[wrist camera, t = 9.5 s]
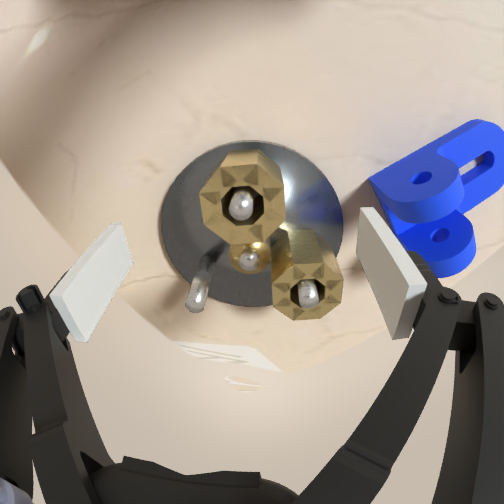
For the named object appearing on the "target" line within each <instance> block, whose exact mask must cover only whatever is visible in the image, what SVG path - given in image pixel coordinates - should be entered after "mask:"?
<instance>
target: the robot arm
mask: <svg viewBox="0 0 504 504" xmlns="http://www.w3.org/2000/svg"><path fill="white" fill-rule="evenodd" d="M356 254H357V256H358V258H359V260H360V263H361V265H362V267H363V269H364V272H365V274H366V276H367V278H368V281H369V283H370V285H371V288H372V290H373V292H374V295H375V297H376V300H377V302H378V304H379V307H380V309H381V312H382V314H383V317H384V319H385V322H386V324H387V327H388V330H389V332H390V335H391V337H392V340H396V339H402V338H409V336H410V333H411V331H412V328H414V332H413V334H412V337H411V338H410V340H409V342H408V344H407V346H406V348H405V350H404V352H403V354H402V356H401V358H400V359H399V361H398V363H397V365H396V367H395V368H394V370H393V372H392V374H391V375H390V377H389V379H388V381H387V382H386V384H385V386H384V387H383V389H382V390H381V392H380V394H379V395H378V397H377V398H376V400H375V401H374V403H373V405H372V406H371V408H370V409H369V411H368V412H367V414H366V415H365V417H364V418H363V420H362V421H361V422H360V424H359V425H358V427H357V428H356V430H355V431H354V432H353V434H352V435H351V436H350V438H349V439H348V440H347V442H346V443H345V444H344V445H343V446H342V447H341V448H340V449H339V450H338V451H337V452H336V453H335V455H334V456H333V457H332V458H331V460H330V461H329V462H328V463H327V464H326V466H325V467H324V468H323V469H322V470H321V472H320V473H319V474H318V475H317V476H316V477H315V478H314V480H313V481H312V482H311V483H310V484H309V485H308V486H307V488H305V490H304V491H303V492H302V493H301V494H300V495H297V494H296V493H295V492H293V491H292V490H290V489H288V488H287V487H285V486H283V485H281V484H279V483H276V482H273V481H270V480H266V479H262V478H261V475H260V472H236V471H219V472H212V473H204V474H196V475H183V474H180V473H178V472H175V471H173V470H170V469H168V468H166V467H163V466H161V465H159V464H156V463H154V462H150V461H145V460H140V459H135V458H131V457H127V456H124V457H123V461H122V463H117V464H115V463H114V462H113V460H112V459H111V458H110V456H109V455H108V453H107V451H106V449H105V446H104V444H103V442H102V439H101V437H100V434H99V432H98V430H97V427H96V425H95V422H94V419H93V417H92V414H91V412H90V409H89V406H88V403H87V400H86V397H85V394H84V391H83V389H82V385H81V382H80V379H79V375H78V372H77V369H76V365H75V362H74V358H73V354H72V351H71V346H70V343H69V341H68V339H67V338H66V337H67V335H68V333H69V332H70V334H71V335H72V337H73V338H74V340H75V341H79V342H86V343H87V342H88V340H89V338H90V336H91V335H92V333H93V331H94V329H95V327H96V325H97V324H98V322H99V320H100V318H101V316H102V315H103V313H104V311H105V309H106V308H107V306H108V304H109V303H110V301H111V299H112V297H113V296H114V294H115V293H116V291H117V289H118V288H119V286H120V284H121V283H122V281H123V279H124V278H125V276H126V274H127V273H128V271H129V270H130V268H131V266H132V265H133V263H134V262H133V259H132V256H131V253H130V250H129V246H128V243H127V240H126V237H125V233H124V230H123V226H122V223H121V222H120V223H111V224H110V225H109V226H108V227H107V228H106V229H105V230H104V231H103V232H102V233H101V234H100V235H99V236H98V238H97V239H96V240H95V241H94V242H93V243H92V244H91V245H90V246H89V248H88V249H87V250H86V251H85V252H84V253H83V254H82V256H81V257H80V258H79V259H78V260H77V261H76V263H75V264H74V265H73V266H72V267H71V269H70V270H68V271H67V272H66V273H65V274H64V275H63V276H62V277H61V279H60V280H59V281H58V282H57V284H56V285H55V286H54V288H53V289H52V290H51V291H50V292H49V294H48V295H47V296H46V298H45V299H44V298H43V296H42V294H41V292H40V290H39V288H38V286H37V285H30V286H27V287H25V288H24V289H22V290H21V291H20V292H19V293H18V295H17V296H16V301H17V302H18V304H19V306H20V307H21V309H22V311H23V313H21V314H17V313H16V312H15V310H14V308H13V307H11V306H10V307H6V308H3V309H2V310H1V311H0V504H33V502H32V498H33V464H32V459H33V463H34V467H35V471H36V474H37V477H38V481H39V484H40V487H41V490H42V494H43V497H44V499H45V502H46V504H370V503H371V502H372V501H373V499H374V498H375V496H376V495H377V493H378V492H379V491H380V489H381V488H382V486H383V485H384V483H385V482H386V480H387V478H388V476H389V474H390V472H391V468H392V466H393V464H394V462H395V461H396V459H397V457H398V456H399V454H400V452H401V450H402V449H403V447H404V445H405V443H406V442H407V440H408V438H409V436H410V434H411V433H412V431H413V429H414V427H415V425H416V423H417V421H418V419H419V417H420V415H421V413H422V411H423V409H424V406H425V404H426V402H427V400H428V398H429V395H430V393H431V391H432V388H433V386H434V384H435V381H436V379H437V376H438V374H439V371H440V369H441V366H442V363H443V361H444V358H445V355H446V353H447V350H455V351H456V355H455V356H456V357H455V378H454V392H453V401H452V410H451V418H450V425H449V431H448V437H447V443H446V448H445V453H444V458H443V463H442V467H441V471H440V476H439V479H438V483H437V487H436V490H435V494H434V497H433V501H432V504H504V304H503V302H502V301H501V300H500V298H498V297H497V296H496V295H494V294H491V293H482V294H480V295H479V297H478V298H477V301H476V302H469V301H463V300H461V297H460V296H459V294H458V293H457V292H455V291H454V290H452V289H450V288H447V287H443V286H442V285H441V283H440V282H439V280H438V279H437V277H436V276H435V274H434V273H433V272H432V270H430V267H429V266H428V265H427V263H426V262H425V260H424V259H423V257H422V256H420V255H419V254H418V253H416V252H415V251H405V249H404V248H403V246H402V245H401V244H400V242H399V241H398V239H397V238H396V237H395V235H394V234H393V232H392V231H391V230H390V228H389V227H388V226H387V224H386V223H385V222H384V220H383V219H382V218H381V216H380V215H379V214H378V212H377V211H376V210H375V209H374V207H360V214H359V226H358V237H357V247H356ZM12 348H13V349H14V351H15V355H14V354H13V352H12ZM32 416H33V422H34V427H35V434H33V435H32Z"/></svg>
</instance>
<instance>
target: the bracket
mask: <svg viewBox="0 0 504 504" xmlns="http://www.w3.org/2000/svg"><path fill="white" fill-rule="evenodd" d="M483 153H485V157H484V160H483V162H482V163H481V164H479V165H478V166H476V167H474V168H473V169H471V170H470V171H468V172H466V173H465V174H463V175H462V176H460V173H459V170H458V169H459V168H460V167H462V166H464V165H465V164H467V163H469V162H470V161H472V160H473V159H475V158H477V157H478V156H480V155H481V154H483ZM368 179H369V181H370V183H371V185H372V187H373V189H374V191H375V193H376V195H377V198H378V200H379V202H380V204H381V206H382V208H383V211H384V213H385V215H386V217H387V220H388V222H389V224H390V227H391V229H392V232H393V234H394V235H395V237H396V238H397V239H398V241H399V242H400V244H401V245H402V246H403V248H404V249H405V251H415V252H416V253H418V254H419V255H420V256H422V257H423V259H424V260H425V262H426V263H427V265H428V266H429V267H430V270H432V272H433V273H434V274H435V276H436V277H437V278H444V277H449V276H452V275H455V274H457V273H459V272H461V271H462V270H464V269H465V268H466V267H467V266H468V265H469V264H470V263H471V262H472V260H473V258H474V256H475V253H476V243H475V237H474V231H473V226H472V224H471V222H470V221H469V220H468V219H467V218H466V217H465V216H464V215H462V214H464V213H465V212H467V211H469V210H470V209H472V208H473V207H475V206H476V205H478V204H479V203H481V202H482V201H484V200H485V199H487V198H488V197H490V196H491V195H492V194H494V193H495V192H497V191H498V190H499V189H500V188H501V187H502V186H503V184H504V131H503V130H502V129H501V128H500V127H499V126H498V125H496V124H494V123H491V122H487V121H484V120H479V119H475V120H471V121H469V122H467V123H465V124H463V125H461V126H460V127H458V128H456V129H454V130H452V131H451V132H449V133H447V134H445V135H444V136H442V137H440V138H438V139H436V140H435V141H433V142H431V143H429V144H427V145H426V146H424V147H422V148H420V149H419V150H417V151H415V152H413V153H412V154H410V155H408V156H406V157H404V158H403V159H401V160H399V161H397V162H396V163H394V164H392V165H390V166H389V167H387V168H385V169H383V170H381V171H380V172H378V173H376V174H374V175H373V176H371V177H369V178H368Z"/></svg>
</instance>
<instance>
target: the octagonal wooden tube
mask: <svg viewBox="0 0 504 504" xmlns="http://www.w3.org/2000/svg"><path fill="white" fill-rule="evenodd" d="M237 186H251V187H252V188H253V189H254V190H256V191H257V192H258V193H259V194H258V195H257V196H256V197H254V200H253V211H252V214H251V216H250V217H249V218H248V219H246V220H236V219H234V218H233V217H232V216H231V215H230V212H229V206H230V203H231V199H232V196H233V191H232V190H231V187H237ZM199 197H200V203H201V210H202V216H203V222H204V225H205V226H206V227H208V228H209V229H210V230H212V231H213V232H214V233H216V234H217V235H218V236H220V237H221V238H222V239H224V240H225V241H226V242H228V243H229V244H245V243H263V242H264V241H265V240H266V239H267V238H268V237H269V236H270V235H271V234H272V233H273V232H274V231H275V230H276V229H277V228H278V227H279V226H280V225H281V224H282V223H283V222H284V221H285V220H286V214H285V190H284V183H283V178H282V174H281V169H280V166H278V165H277V164H276V163H275V162H274V161H273V160H271V159H270V158H269V157H268V156H267V155H265V154H264V153H263V152H262V151H261V150H259V149H246V150H234V151H229V152H228V154H227V155H226V156H225V157H224V158H223V159H222V161H221V162H220V163H219V164H218V165H217V167H216V168H215V169H214V170H213V171H212V173H211V174H210V176H209V178H208V179H207V181H206V182H205V184H204V186H203V187H202V189H201V191H200V192H199Z"/></svg>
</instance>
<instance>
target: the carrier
mask: <svg viewBox="0 0 504 504" xmlns="http://www.w3.org/2000/svg"><path fill="white" fill-rule="evenodd" d="M246 149H259V150H261V151H262V152H263V153H264V154H265V155H267V156H268V157H269V158H270V159H271V160H273V161H274V162H275V163H276V164H277V165H278V166H280V169H281V174H282V178H283V183H284V190H285V214H286V220H285V221H284V222H283V223H282V224H281V225H280V226H279V227H278V228H277V229H276V230H275V231H274V232H273V233H272V234H271V235H270V236H269V237H268V238H267V239H266V240H265V241H264V242H263V243H245V244H229V243H228V242H226V241H225V240H224V239H222V238H221V237H220V236H218V235H217V234H216V233H214V232H213V231H212V230H210V229H209V228H208V227H206V226H205V225H204V222H203V216H202V210H201V203H200V197H199V192H200V191H201V189H202V187H203V186H204V184H205V182H206V181H207V179H208V178H209V176H210V174H211V173H212V171H213V170H214V169H215V168H216V167H217V165H218V164H219V163H220V162H221V161H222V159H223V158H224V157H225V156H226V155H227V154H228V152H229V151H234V150H246ZM231 190H232V191H233V196H232V199H231V203H230V206H229V212H230V215H231V216H232V217H233V218H234V219H236V220H246V219H248V218H249V217H250V216H251V214H252V211H253V200H254V197H256V196H257V195H258V194H259V193H258V192H257V191H256V190H254V189H253V188H252V187H251V186H237V187H231ZM161 223H162V235H163V241H164V244H165V247H166V251H167V253H168V255H169V257H170V259H171V261H172V263H173V264H174V266H175V267H176V269H177V270H178V271H179V273H180V274H181V275H182V276H183V277H184V278H185V279H186V280H187V281H188V282H189V283H190V284H191V288H190V291H189V294H188V297H187V300H186V303H185V306H186V308H187V309H188V310H189V311H191V312H193V313H199V312H201V311H202V310H203V309H204V305H205V301H206V297H207V295H208V296H210V297H212V298H214V299H216V300H219V301H222V302H225V303H229V304H233V305H238V306H247V307H260V306H269V305H273V307H274V308H275V309H277V310H278V311H280V312H281V313H283V314H284V315H286V316H287V317H289V318H290V319H292V320H308V319H320V318H322V317H323V316H324V315H326V314H327V313H328V312H330V311H331V310H332V309H333V308H335V307H336V306H337V305H338V304H340V303H341V298H342V289H343V280H344V279H343V276H342V274H341V271H340V268H339V266H338V263H337V260H336V257H337V254H338V252H339V249H340V245H341V242H342V235H343V216H342V210H341V206H340V203H339V200H338V197H337V195H336V193H335V191H334V189H333V187H332V185H331V184H330V183H329V181H328V180H327V178H326V177H325V175H324V174H323V173H322V172H321V171H320V170H319V168H318V167H317V166H316V165H315V164H314V163H312V162H311V161H310V160H309V159H307V158H306V157H305V156H303V155H301V154H300V153H298V152H296V151H295V150H292V149H290V148H288V147H285V146H283V145H280V144H276V143H272V142H267V141H259V140H243V141H236V142H230V143H227V144H224V145H220V146H217V147H215V148H213V149H211V150H209V151H207V152H205V153H203V154H202V155H200V156H199V157H197V158H196V159H195V160H193V161H192V162H191V163H190V164H189V165H188V166H187V167H186V168H185V169H184V170H183V171H182V172H181V173H180V174H179V176H178V177H177V178H176V180H175V181H174V183H173V184H172V186H171V187H170V190H169V192H168V194H167V196H166V199H165V202H164V206H163V211H162V219H161Z"/></svg>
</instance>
